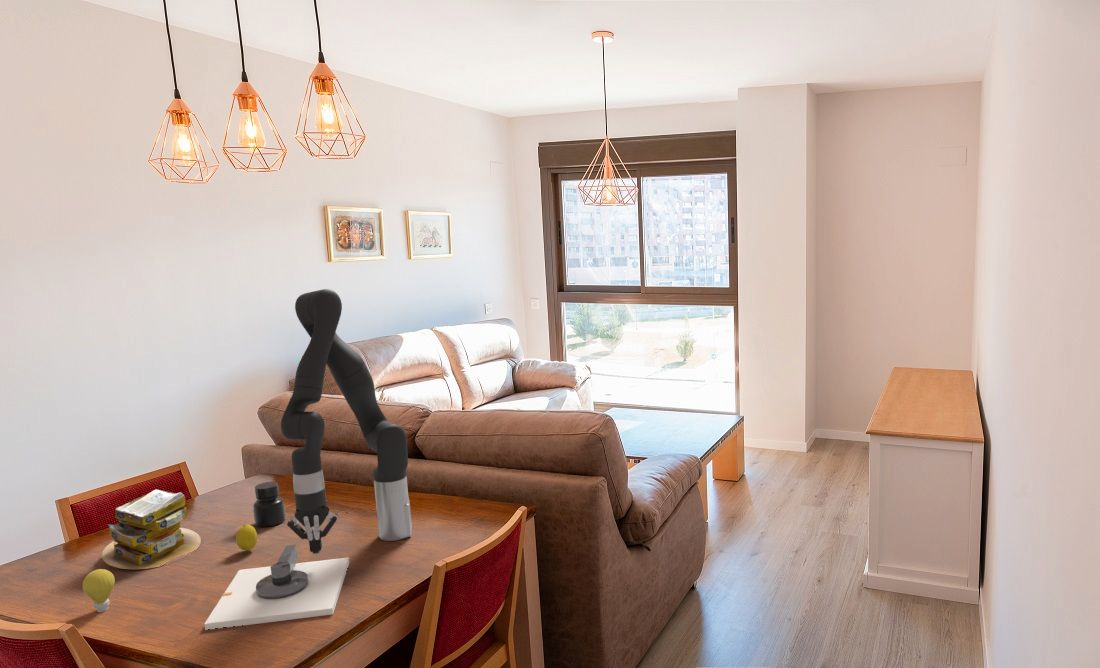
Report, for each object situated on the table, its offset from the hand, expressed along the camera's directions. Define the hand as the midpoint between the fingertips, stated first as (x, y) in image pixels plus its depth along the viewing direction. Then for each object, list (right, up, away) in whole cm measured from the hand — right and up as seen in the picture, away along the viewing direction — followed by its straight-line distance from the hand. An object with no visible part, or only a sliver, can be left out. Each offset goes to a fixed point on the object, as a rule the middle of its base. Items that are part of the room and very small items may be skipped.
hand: (316, 552), depth 192 cm
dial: (-6, -5, -7) cm, 10 cm away
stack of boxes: (-53, -7, +21) cm, 58 cm away
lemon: (-25, -5, +18) cm, 31 cm away
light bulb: (-48, -10, -12) cm, 51 cm away
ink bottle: (-27, -2, +39) cm, 48 cm away
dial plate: (-5, -7, -10) cm, 13 cm away
